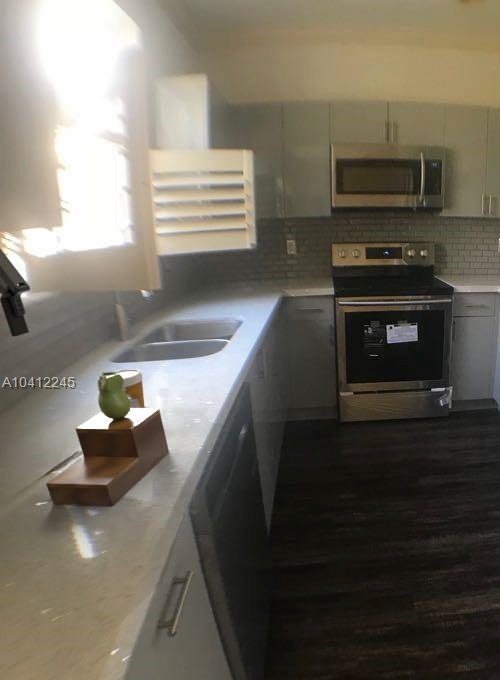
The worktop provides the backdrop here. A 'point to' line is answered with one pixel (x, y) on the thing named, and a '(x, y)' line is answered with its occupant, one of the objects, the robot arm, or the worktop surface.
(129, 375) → the disposable coffee cup
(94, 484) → the wooden step stand
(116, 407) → the pear
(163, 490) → the worktop surface
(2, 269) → the robot arm
